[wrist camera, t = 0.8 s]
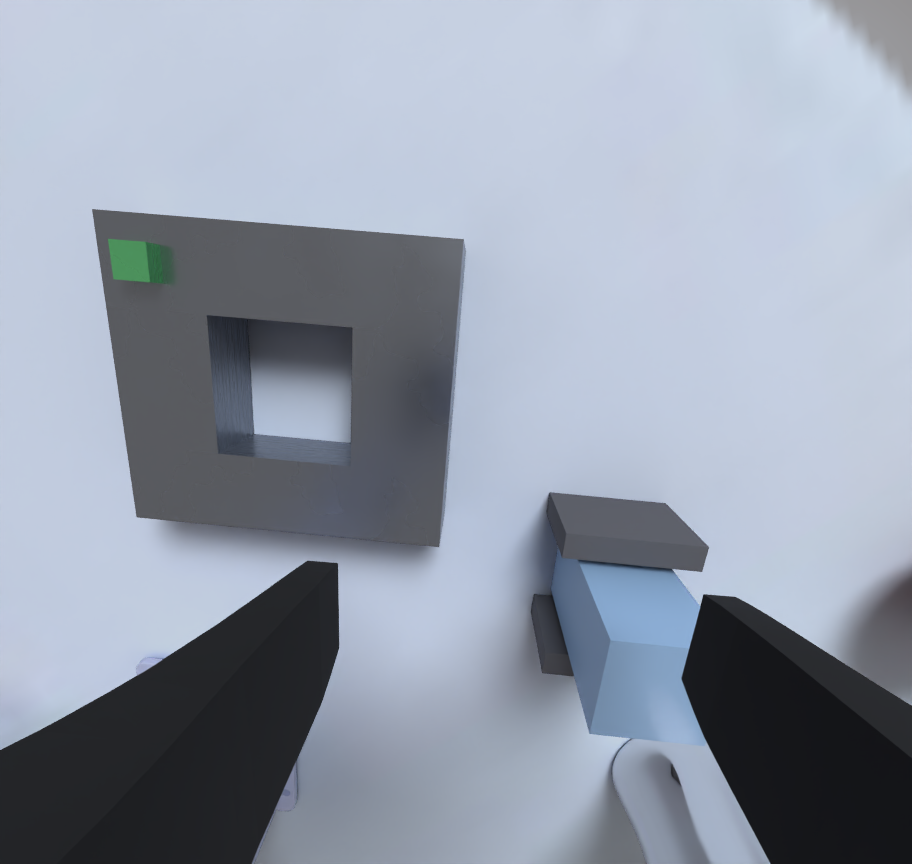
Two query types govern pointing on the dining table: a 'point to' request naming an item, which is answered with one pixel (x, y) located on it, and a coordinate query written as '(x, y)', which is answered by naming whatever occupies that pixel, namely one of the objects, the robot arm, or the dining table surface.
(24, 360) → the dining table surface
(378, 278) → the port block
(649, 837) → the beer glass
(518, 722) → the dining table surface
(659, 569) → the plug
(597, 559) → the holster
